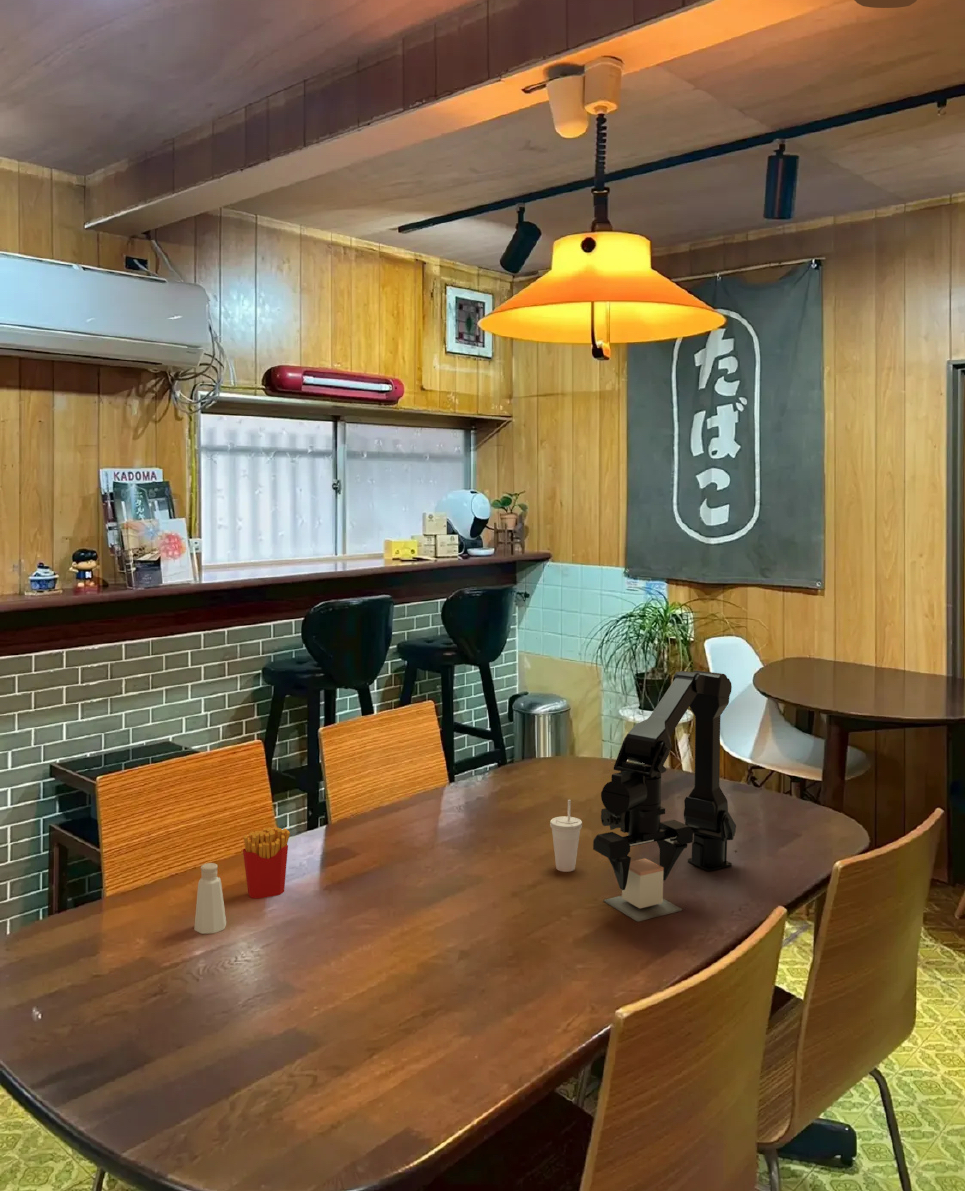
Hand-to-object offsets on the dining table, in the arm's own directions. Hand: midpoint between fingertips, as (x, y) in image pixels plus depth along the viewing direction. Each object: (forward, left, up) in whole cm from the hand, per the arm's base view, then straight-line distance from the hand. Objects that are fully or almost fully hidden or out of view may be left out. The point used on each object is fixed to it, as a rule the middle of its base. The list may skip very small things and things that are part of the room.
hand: (642, 884), depth 179 cm
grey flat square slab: (0, 0, -4) cm, 4 cm away
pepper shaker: (+71, -28, -4) cm, 76 cm away
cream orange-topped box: (0, 0, -3) cm, 3 cm away
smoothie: (+2, -22, -4) cm, 22 cm away
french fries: (+58, -38, -4) cm, 69 cm away
